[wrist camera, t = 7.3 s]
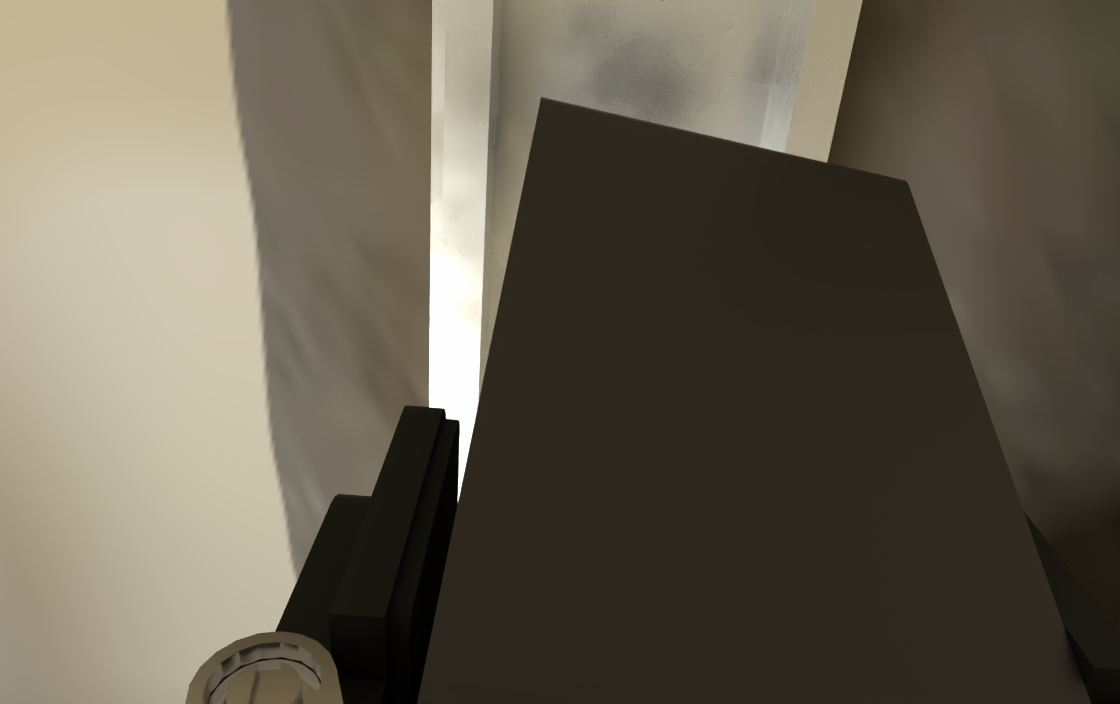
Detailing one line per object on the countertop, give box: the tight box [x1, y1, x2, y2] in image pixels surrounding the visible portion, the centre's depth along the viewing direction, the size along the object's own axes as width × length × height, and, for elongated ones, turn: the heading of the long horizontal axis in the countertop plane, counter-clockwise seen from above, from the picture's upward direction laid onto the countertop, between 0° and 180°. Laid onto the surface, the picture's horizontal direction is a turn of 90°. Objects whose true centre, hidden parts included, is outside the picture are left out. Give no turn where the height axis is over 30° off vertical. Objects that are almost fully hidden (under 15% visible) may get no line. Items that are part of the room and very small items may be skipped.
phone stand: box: [417, 97, 1091, 704], centre depth 10 cm, size 9×6×12 cm, turn 167°
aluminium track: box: [429, 0, 863, 500], centre depth 25 cm, size 12×28×4 cm, turn 176°
